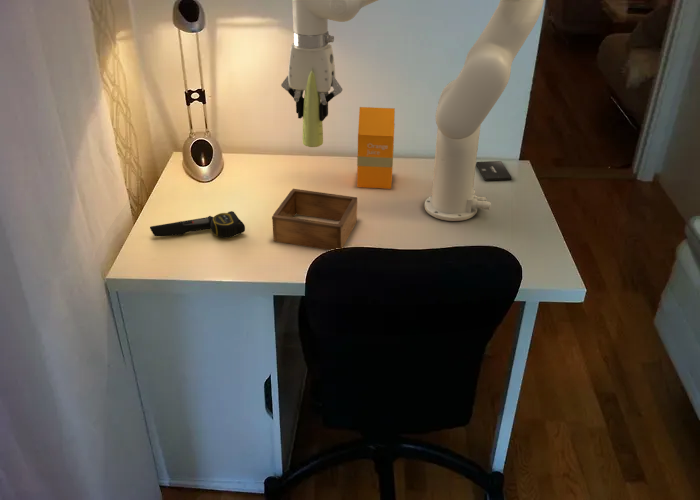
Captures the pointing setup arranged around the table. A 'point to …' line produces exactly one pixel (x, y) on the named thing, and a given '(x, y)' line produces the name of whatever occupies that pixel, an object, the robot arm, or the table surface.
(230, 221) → the tape measure
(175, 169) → the table surface
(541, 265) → the table surface
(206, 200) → the table surface
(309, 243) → the wooden box
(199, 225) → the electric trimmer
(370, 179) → the orange juice
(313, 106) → the bamboo shoot
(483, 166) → the solid state drive
